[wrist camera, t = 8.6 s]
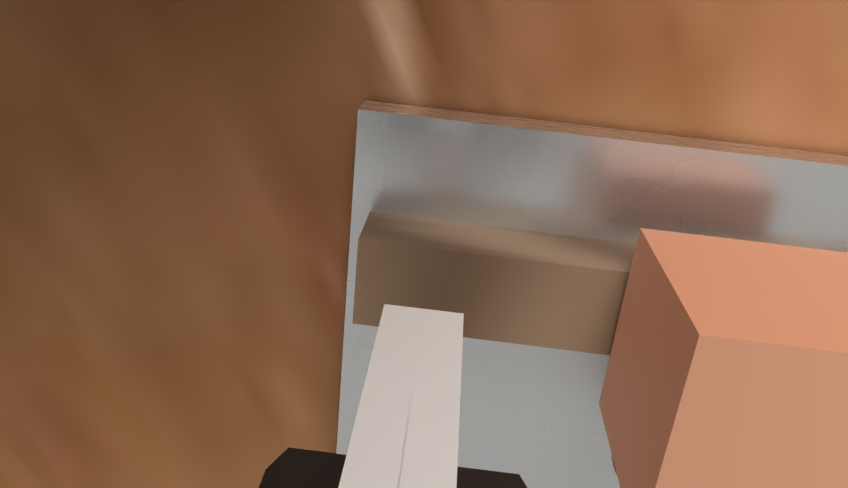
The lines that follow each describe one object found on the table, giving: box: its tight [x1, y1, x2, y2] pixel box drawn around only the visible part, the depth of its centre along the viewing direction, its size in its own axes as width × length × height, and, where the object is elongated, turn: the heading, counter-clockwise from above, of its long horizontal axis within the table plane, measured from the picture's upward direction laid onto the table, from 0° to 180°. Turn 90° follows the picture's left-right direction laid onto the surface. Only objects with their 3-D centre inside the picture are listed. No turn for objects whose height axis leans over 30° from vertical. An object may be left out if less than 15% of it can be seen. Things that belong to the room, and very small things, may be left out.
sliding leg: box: [599, 228, 848, 488], centre depth 17 cm, size 5×9×7 cm, turn 174°
